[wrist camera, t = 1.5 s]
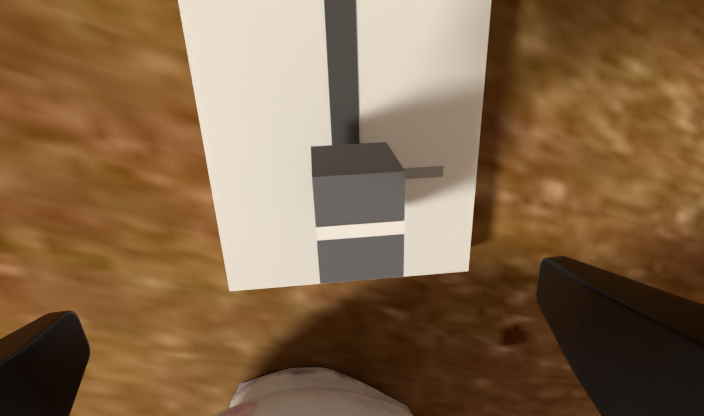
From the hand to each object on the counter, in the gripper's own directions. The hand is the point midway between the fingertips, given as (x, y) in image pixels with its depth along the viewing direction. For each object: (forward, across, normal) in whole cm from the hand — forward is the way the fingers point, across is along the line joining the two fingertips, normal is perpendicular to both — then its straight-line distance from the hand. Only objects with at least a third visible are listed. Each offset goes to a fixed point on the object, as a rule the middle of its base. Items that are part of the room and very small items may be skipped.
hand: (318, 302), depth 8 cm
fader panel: (+13, -2, -4) cm, 14 cm away
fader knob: (+11, -1, +2) cm, 11 cm away
